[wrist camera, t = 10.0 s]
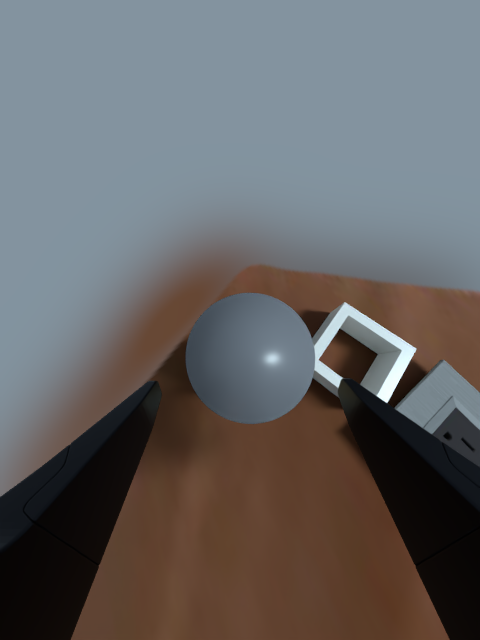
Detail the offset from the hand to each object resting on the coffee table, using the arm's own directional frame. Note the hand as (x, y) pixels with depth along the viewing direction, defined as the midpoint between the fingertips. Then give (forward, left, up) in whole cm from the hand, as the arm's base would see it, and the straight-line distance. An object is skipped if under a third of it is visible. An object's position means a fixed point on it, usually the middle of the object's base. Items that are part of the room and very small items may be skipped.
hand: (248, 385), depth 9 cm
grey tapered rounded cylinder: (+1, +1, -9) cm, 9 cm away
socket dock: (+8, -6, -10) cm, 14 cm away
